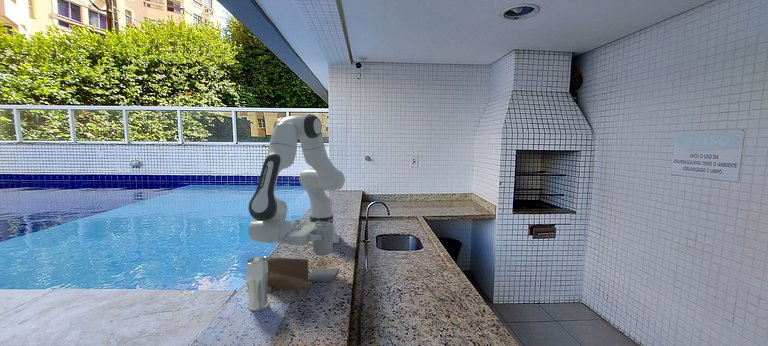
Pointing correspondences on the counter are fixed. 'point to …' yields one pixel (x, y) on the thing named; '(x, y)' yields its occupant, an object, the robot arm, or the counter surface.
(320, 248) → the can
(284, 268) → the walnut screen
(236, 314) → the counter surface
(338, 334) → the counter surface
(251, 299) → the beer glass
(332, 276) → the slate mat
